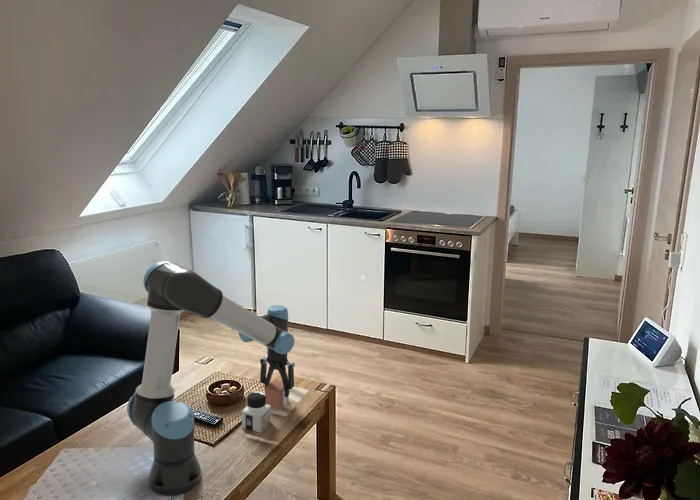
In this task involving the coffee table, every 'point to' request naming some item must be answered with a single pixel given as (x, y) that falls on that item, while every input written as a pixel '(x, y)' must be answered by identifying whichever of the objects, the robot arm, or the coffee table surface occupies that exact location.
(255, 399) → the container
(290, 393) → the board
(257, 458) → the coffee table surface
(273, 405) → the block
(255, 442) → the coffee table surface
